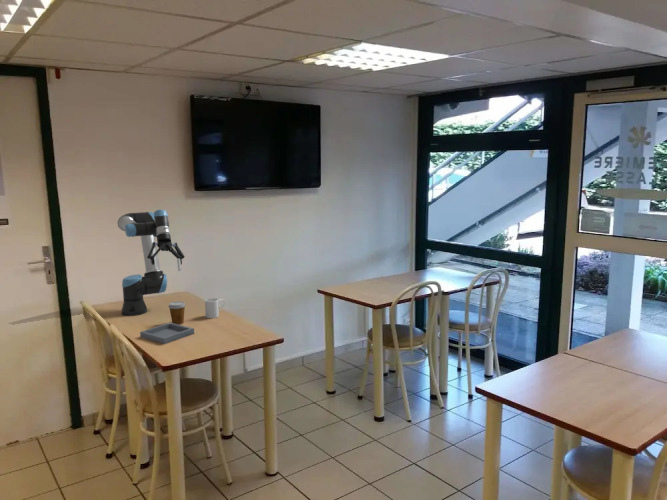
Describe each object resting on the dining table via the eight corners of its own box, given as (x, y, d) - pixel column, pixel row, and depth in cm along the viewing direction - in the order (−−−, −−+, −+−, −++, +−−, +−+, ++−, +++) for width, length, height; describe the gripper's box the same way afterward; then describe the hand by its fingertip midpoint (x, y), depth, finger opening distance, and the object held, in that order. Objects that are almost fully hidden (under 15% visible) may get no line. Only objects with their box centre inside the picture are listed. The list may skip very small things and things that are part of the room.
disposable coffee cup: (188, 320, 315) (187, 301, 313) (182, 325, 306) (181, 305, 304) (173, 320, 316) (172, 301, 314) (166, 325, 307) (165, 305, 305)
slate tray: (140, 337, 287) (140, 332, 286) (170, 327, 303) (170, 322, 302) (164, 344, 276) (164, 338, 275) (194, 333, 292) (194, 328, 291)
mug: (208, 319, 318) (207, 302, 317) (203, 316, 325) (202, 299, 323) (227, 315, 325) (226, 299, 324) (222, 312, 332) (221, 296, 330)
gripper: (142, 231, 291) (146, 267, 284) (187, 233, 306) (191, 267, 298) (139, 237, 297) (143, 272, 289) (182, 239, 311) (187, 272, 304)
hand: (167, 269), depth 294 cm, fingers open, 13 cm apart
